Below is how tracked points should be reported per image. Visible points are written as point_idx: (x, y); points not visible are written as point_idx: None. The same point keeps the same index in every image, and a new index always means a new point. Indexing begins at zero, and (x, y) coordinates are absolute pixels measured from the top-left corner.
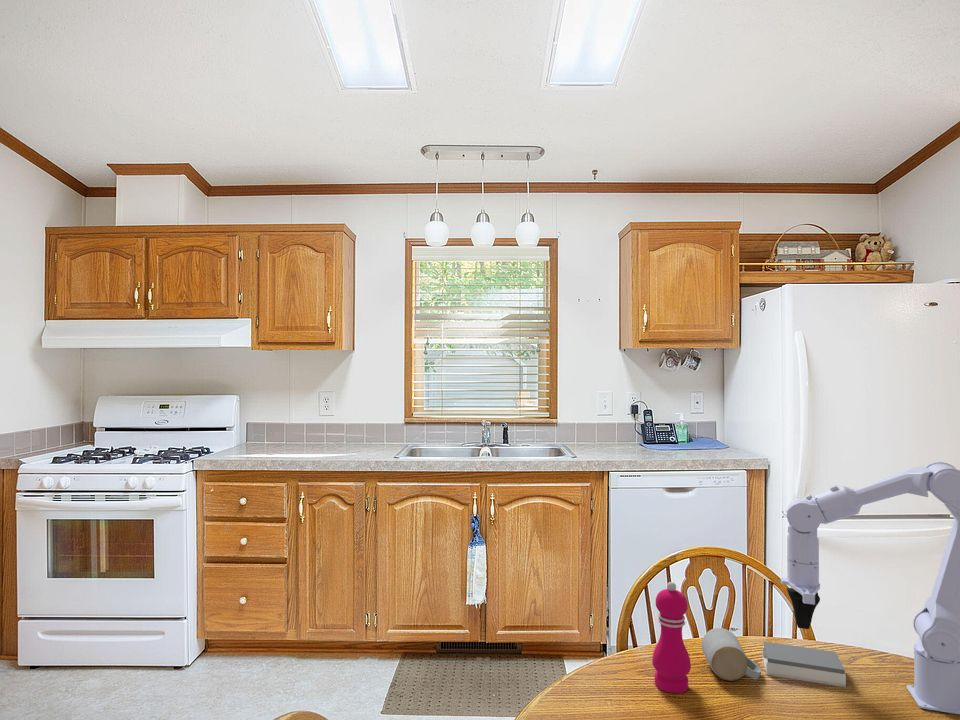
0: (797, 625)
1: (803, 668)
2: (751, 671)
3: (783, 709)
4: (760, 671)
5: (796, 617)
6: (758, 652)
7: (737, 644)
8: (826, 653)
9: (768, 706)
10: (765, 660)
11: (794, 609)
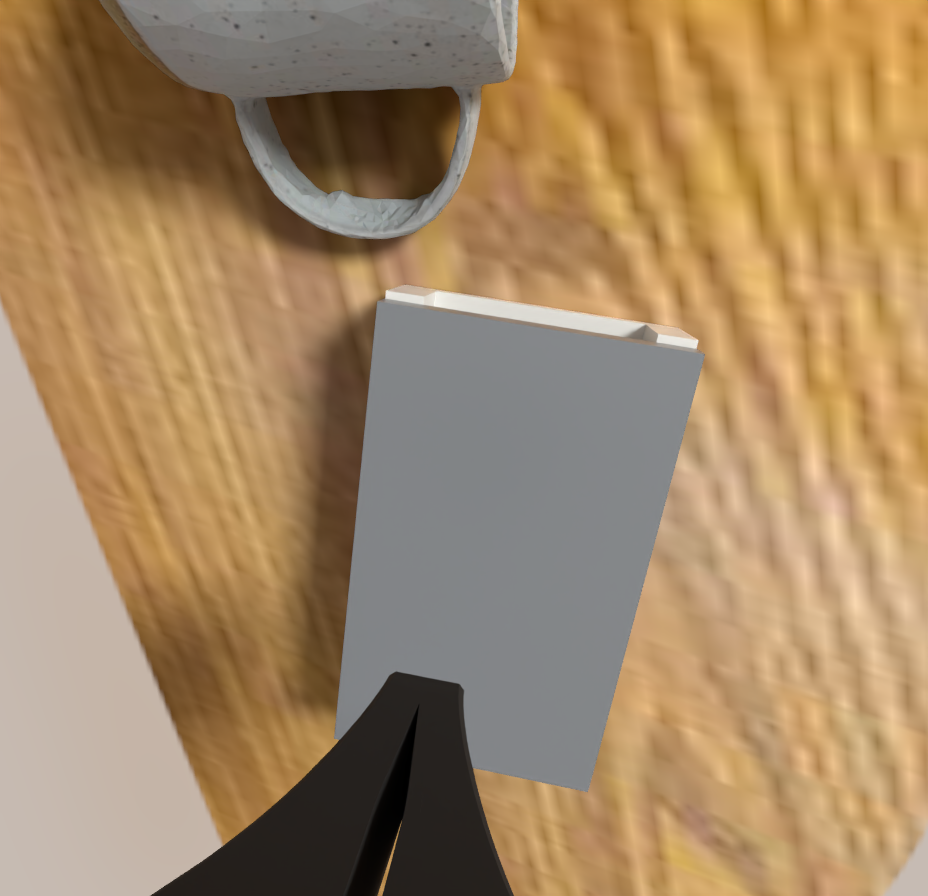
0: (386, 682)
1: None
2: (243, 138)
3: (6, 271)
4: (324, 225)
5: (341, 740)
6: (761, 318)
7: None
8: (550, 730)
9: (3, 188)
10: (586, 326)
11: (273, 808)
